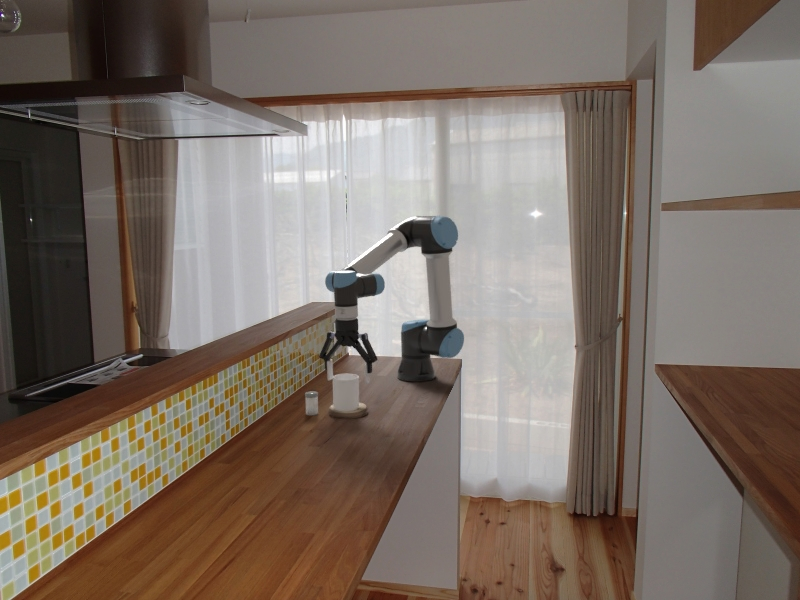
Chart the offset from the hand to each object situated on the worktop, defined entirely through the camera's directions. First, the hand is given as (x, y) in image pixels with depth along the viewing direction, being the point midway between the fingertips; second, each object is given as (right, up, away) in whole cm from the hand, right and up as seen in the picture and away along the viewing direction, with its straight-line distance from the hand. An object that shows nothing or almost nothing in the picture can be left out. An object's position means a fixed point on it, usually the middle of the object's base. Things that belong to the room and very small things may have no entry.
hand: (348, 381), depth 218 cm
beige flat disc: (0, -11, +1) cm, 11 cm away
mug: (0, -9, +1) cm, 9 cm away
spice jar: (-12, -11, 0) cm, 16 cm away
